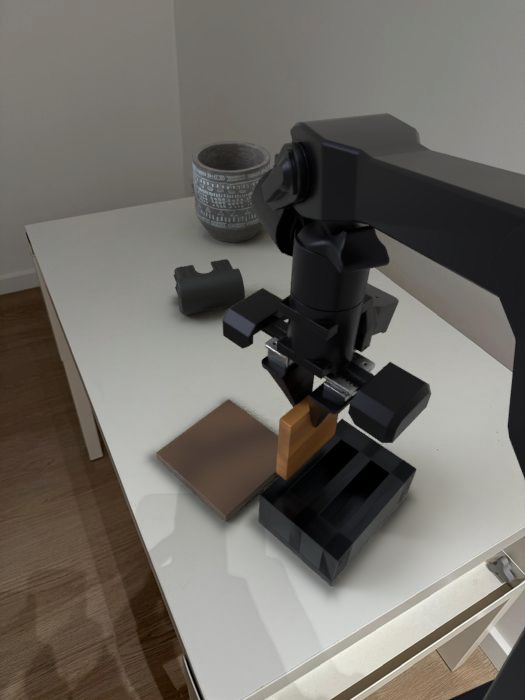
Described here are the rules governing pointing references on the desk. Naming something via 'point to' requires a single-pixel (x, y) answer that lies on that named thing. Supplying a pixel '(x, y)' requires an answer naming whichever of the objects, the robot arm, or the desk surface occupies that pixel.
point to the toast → (301, 438)
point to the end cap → (208, 287)
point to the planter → (228, 187)
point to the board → (224, 458)
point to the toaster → (336, 500)
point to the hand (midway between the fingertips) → (310, 419)
